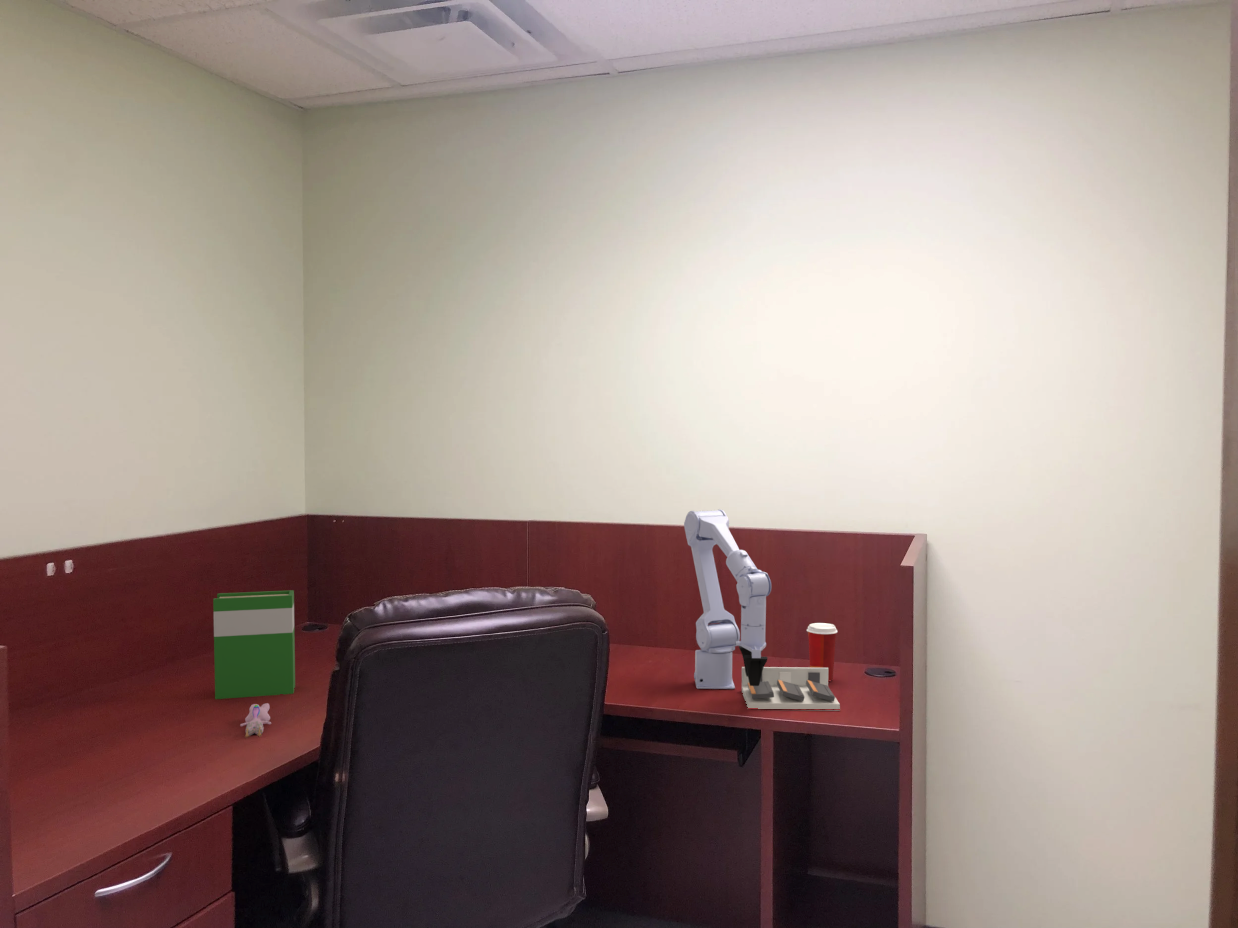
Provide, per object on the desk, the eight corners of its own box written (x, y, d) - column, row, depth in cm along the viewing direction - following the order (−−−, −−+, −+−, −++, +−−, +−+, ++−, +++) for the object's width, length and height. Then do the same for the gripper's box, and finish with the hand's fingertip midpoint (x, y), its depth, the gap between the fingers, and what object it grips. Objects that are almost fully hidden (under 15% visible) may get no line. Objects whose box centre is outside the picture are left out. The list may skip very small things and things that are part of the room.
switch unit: (748, 709, 222) (748, 683, 222) (741, 690, 237) (741, 666, 237) (839, 710, 222) (840, 684, 222) (827, 691, 237) (827, 667, 237)
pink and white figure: (269, 742, 203) (276, 710, 217) (268, 716, 202) (275, 686, 216) (237, 745, 202) (246, 712, 216) (236, 719, 201) (245, 687, 215)
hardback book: (215, 699, 230) (213, 599, 228) (219, 690, 237) (217, 593, 236) (293, 693, 234) (291, 595, 233) (295, 685, 241) (293, 590, 240)
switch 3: (812, 695, 223) (814, 691, 223) (805, 683, 233) (806, 679, 233) (833, 701, 223) (835, 696, 223) (825, 689, 233) (826, 684, 233)
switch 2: (782, 695, 223) (783, 690, 223) (776, 683, 233) (777, 678, 233) (803, 701, 223) (804, 696, 223) (796, 688, 233) (797, 684, 233)
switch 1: (752, 698, 223) (751, 694, 223) (747, 686, 233) (747, 682, 233) (773, 697, 223) (773, 692, 223) (768, 685, 233) (768, 680, 233)
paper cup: (834, 675, 251) (835, 622, 251) (838, 684, 244) (839, 629, 243) (804, 675, 252) (805, 621, 251) (807, 683, 244) (807, 628, 244)
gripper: (733, 616, 235) (732, 671, 236) (739, 630, 220) (738, 689, 221) (762, 617, 235) (761, 672, 235) (770, 631, 220) (769, 689, 221)
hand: (752, 680), depth 228 cm, fingers open, 7 cm apart
